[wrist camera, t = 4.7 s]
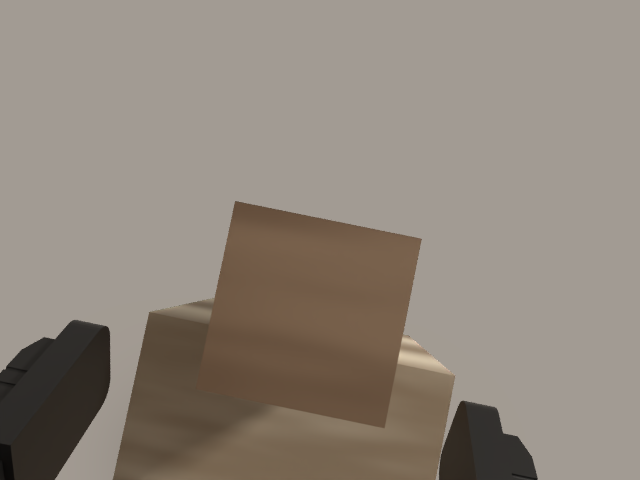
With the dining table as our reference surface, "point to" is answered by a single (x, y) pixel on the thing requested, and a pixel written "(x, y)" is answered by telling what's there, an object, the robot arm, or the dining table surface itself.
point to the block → (309, 314)
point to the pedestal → (269, 420)
